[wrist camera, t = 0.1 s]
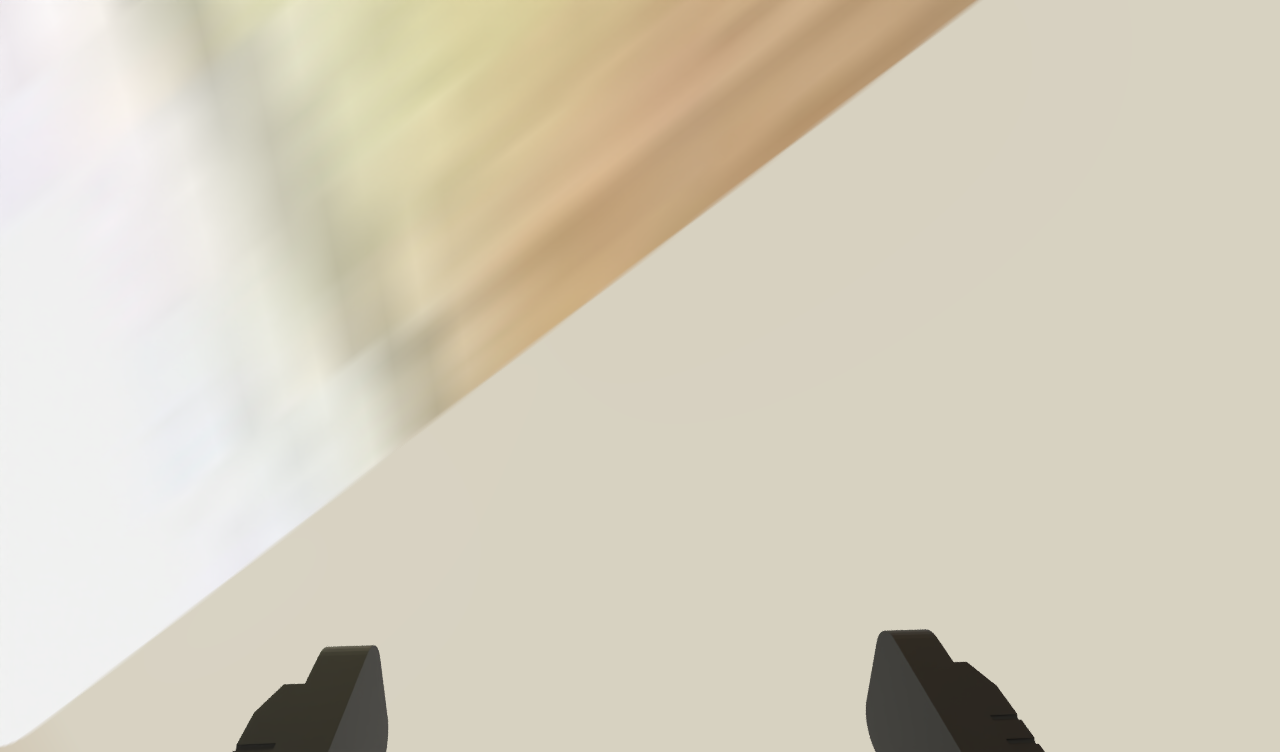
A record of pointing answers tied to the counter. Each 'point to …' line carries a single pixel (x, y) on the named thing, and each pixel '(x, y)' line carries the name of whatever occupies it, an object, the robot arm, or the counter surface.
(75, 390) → the counter surface
